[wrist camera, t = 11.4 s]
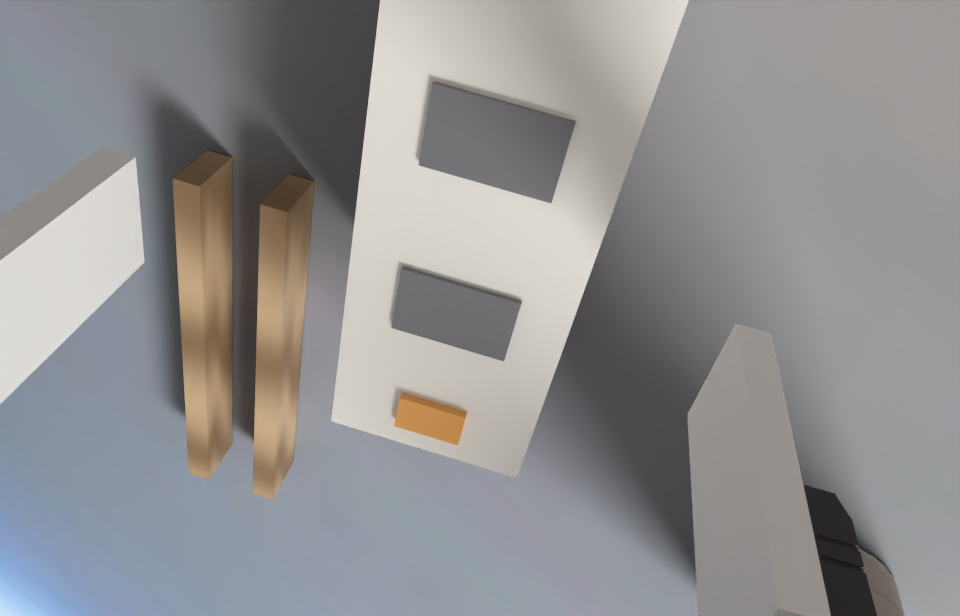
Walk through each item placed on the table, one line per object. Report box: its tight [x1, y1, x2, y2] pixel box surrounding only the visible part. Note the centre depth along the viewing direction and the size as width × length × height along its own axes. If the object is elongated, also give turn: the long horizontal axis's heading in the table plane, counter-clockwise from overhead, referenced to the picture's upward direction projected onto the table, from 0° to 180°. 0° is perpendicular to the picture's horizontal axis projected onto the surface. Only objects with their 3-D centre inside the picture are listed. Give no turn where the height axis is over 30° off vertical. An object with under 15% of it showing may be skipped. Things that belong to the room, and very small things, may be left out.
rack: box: [173, 150, 314, 499], centre depth 32 cm, size 16×4×2 cm, turn 168°
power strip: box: [331, 0, 689, 478], centre depth 21 cm, size 16×6×8 cm, turn 168°
